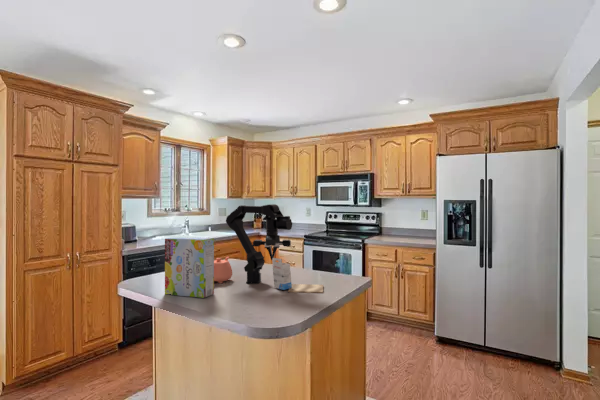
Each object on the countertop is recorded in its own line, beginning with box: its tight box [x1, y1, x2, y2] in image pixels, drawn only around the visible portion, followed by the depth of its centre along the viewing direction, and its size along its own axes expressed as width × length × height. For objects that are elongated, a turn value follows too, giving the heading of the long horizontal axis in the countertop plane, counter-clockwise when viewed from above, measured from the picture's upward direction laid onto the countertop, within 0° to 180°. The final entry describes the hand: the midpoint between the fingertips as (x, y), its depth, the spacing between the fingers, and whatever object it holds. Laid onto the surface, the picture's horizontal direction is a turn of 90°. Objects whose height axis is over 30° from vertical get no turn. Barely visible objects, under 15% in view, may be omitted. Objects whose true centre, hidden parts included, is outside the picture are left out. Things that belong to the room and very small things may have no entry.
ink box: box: [271, 257, 293, 291], centre depth 162 cm, size 8×5×15 cm, turn 39°
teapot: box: [214, 256, 233, 284], centre depth 178 cm, size 13×20×12 cm, turn 164°
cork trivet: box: [287, 283, 324, 294], centre depth 161 cm, size 16×13×1 cm
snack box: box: [164, 236, 215, 299], centre depth 152 cm, size 22×9×26 cm, turn 71°
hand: (272, 260), depth 169 cm, fingers closed
